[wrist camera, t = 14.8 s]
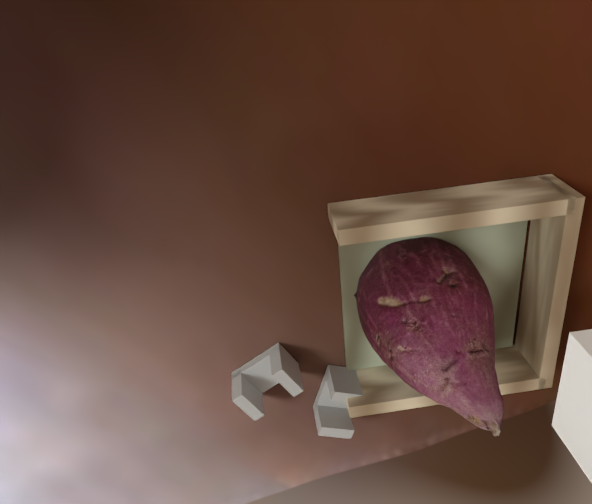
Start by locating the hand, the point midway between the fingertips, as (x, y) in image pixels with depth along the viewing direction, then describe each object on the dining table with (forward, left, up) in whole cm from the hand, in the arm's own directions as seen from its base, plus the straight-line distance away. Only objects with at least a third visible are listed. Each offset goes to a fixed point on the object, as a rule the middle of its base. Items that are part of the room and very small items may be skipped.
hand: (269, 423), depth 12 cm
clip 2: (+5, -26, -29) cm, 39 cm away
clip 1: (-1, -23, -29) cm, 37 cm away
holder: (+14, -17, -29) cm, 36 cm away
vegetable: (+12, -17, -29) cm, 35 cm away
